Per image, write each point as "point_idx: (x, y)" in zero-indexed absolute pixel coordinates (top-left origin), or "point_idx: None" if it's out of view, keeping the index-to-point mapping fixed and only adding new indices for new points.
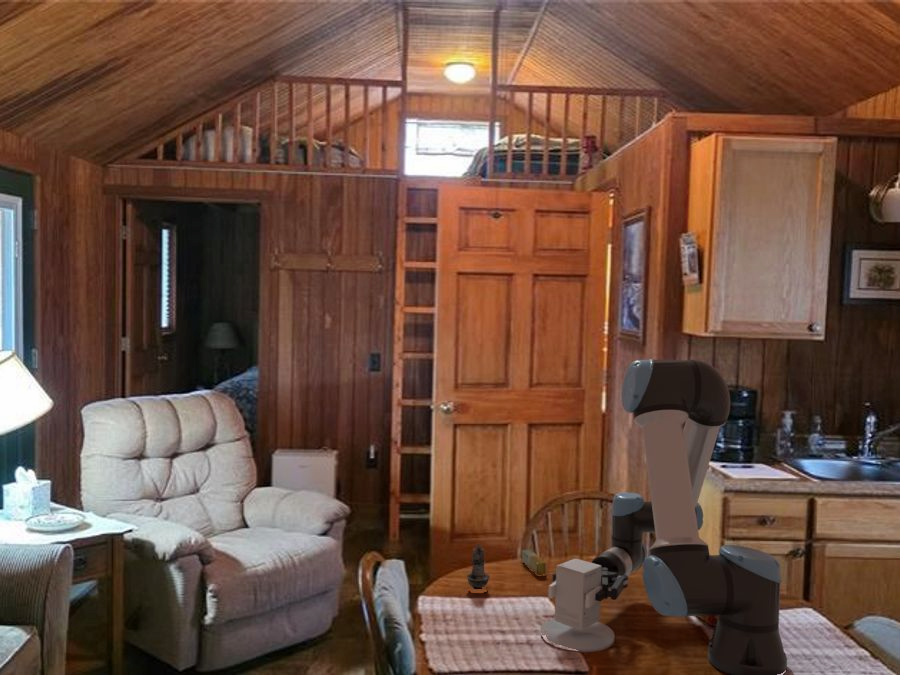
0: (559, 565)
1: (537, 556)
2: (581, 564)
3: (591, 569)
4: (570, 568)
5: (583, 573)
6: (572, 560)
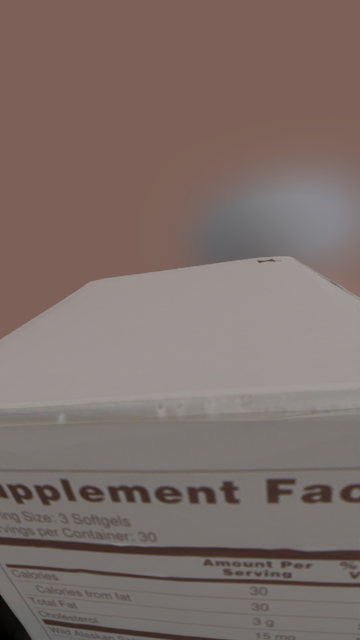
0: (276, 257)
1: None
2: (161, 305)
3: (47, 311)
4: (188, 268)
5: (93, 282)
6: (340, 310)
